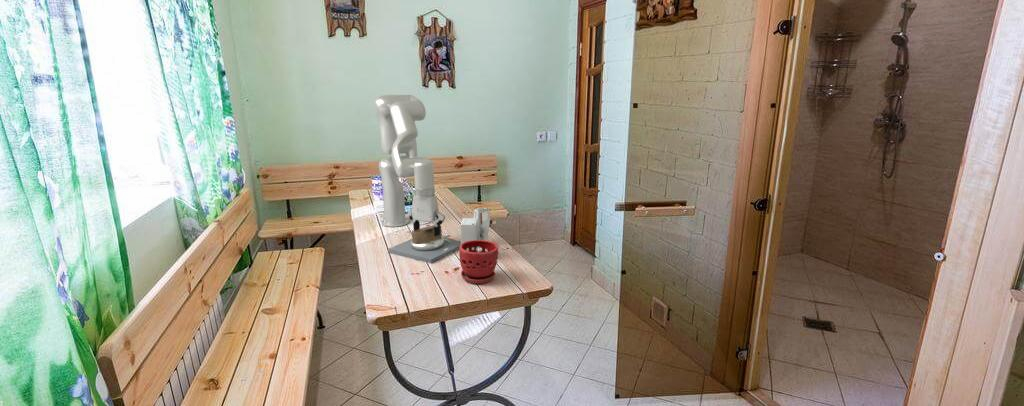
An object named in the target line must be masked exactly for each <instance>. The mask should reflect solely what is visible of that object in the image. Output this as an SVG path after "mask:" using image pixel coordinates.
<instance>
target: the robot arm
mask: <svg viewBox="0 0 1024 406" xmlns="http://www.w3.org/2000/svg"><path fill="white" fill-rule="evenodd" d="M373 107H374V112H375V115H376V116H375V117H377V120H378V124H379V135H380V136H379V137H380V138H379V139H380V148H381V151H382V153H383V154H386V155H391V156H387V157H383V158H381V160H379V161H378V170H379V175H380V179H381V185H382V186H381V188H382V198H383V211H382V212H381V214H379V217H380V218H382V219H383V220H382V221H381V225H382V226H383V227H389V228H396V227H403V226H405V225H406V226H407V225H408V224H409V222H410V221H411V223H412V225H413V226H412V227H413V230H417V229H421V227H420V225H421V224H420V222H426V223H432V225H435V227H434V236H438V235H440V226H442V225H443V223H444V221H445V219H446V215H445V214H443V213H442V212H440V211H439V209H440V208H439V202H438V198H437V195H436V193H435V192H436V191H435V169H434V168H435V166H434V162H433V161H432V160H430V159H429V158H428V157H426V156H418V144H417V137H418V135H419V132H418V128H417V125H416V121H417V122H419V121H423V120H425V118H426V115H427V112H426V107H425V104H424V103H423V102H422V100H420V99H419V98H418V97H416V96H414V95H413V94H384V95H379V96H377V97H376V98H375V99H374V101H373ZM401 154H405V155H401ZM410 177H411V178H412V177H413V178H414V181H413V182H414V187H413V188H412V191H413V192H414V195H412V196H413V197H412V204H411V209H409V210H407V214H408V216H409V218H407V217H406V206H405V192H404V191H405V190H404V188H405V187H404V185H403V183H402V182H401V181H400V180H399V179H398V178H410Z"/></svg>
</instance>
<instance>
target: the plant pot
mask: <svg viewBox="0 0 1024 406" xmlns="http://www.w3.org/2000/svg"><path fill="white" fill-rule="evenodd" d="M473 247H474V250H472V248H473ZM477 247H478V248H480V249H481V251H478V252H477V251H476V248H477ZM467 248H468V249H469V250H468V251H466V250H467ZM458 251H459V263H460V266H461V269H462V270H461V271H460V272H461V273H460V276H461V278H462V279H463V280H464V281H465V282H468V283H470V284H471V283H472V284H484V283H488V282H490V281H492V280H493V279H494V278H495V276H496V272H495V269H496V268H497V264H498V260H499V259H498V257H499V246H498V244H496V243H495V242H493V241H489V240H488V241H485V240H472V241H467V242H464V243H462V244H461V245H460V249H459V250H458ZM463 259H464V260H463Z"/></svg>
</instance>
